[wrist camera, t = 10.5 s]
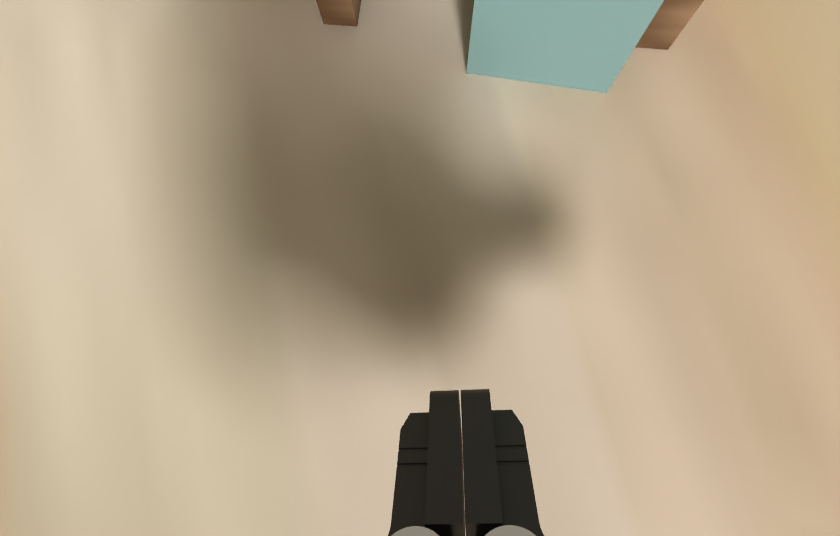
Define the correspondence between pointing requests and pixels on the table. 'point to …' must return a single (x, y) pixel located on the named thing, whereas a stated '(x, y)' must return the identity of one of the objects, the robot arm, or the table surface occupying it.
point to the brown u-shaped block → (676, 10)
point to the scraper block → (557, 40)
